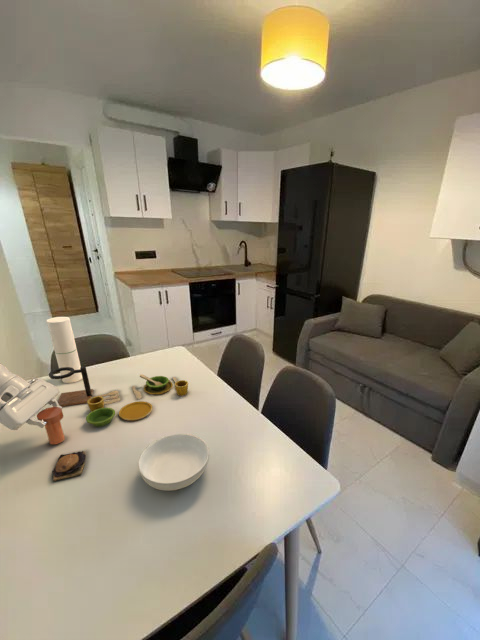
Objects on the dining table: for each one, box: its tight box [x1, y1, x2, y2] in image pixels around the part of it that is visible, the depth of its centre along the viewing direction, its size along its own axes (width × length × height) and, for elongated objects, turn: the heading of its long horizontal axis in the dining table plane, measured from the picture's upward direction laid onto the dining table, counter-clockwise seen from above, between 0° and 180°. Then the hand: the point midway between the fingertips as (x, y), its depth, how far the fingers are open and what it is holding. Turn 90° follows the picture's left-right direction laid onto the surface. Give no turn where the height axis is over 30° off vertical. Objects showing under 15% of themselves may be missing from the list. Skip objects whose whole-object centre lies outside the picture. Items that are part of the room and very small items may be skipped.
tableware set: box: [85, 374, 189, 428], centre depth 125 cm, size 41×28×6 cm
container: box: [46, 316, 83, 384], centre depth 135 cm, size 9×9×30 cm
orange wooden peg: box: [36, 406, 65, 445], centre depth 99 cm, size 7×7×12 cm
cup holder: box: [48, 365, 94, 408], centre depth 122 cm, size 13×10×14 cm
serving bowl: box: [137, 433, 210, 492], centre depth 90 cm, size 21×21×7 cm
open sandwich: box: [52, 450, 87, 482], centre depth 91 cm, size 11×8×4 cm
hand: (52, 417), depth 97 cm, fingers closed on orange wooden peg, 7 cm apart
